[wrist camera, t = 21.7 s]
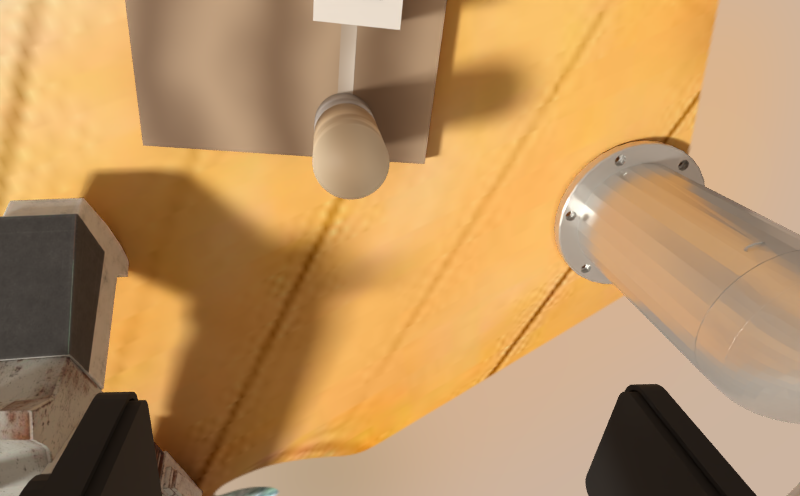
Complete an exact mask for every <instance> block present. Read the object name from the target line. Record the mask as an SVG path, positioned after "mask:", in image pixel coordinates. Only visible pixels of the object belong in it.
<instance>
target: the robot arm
mask: <svg viewBox="0 0 800 496" xmlns="http://www.w3.org/2000/svg"><path fill="white" fill-rule="evenodd" d="M554 229H555V241H556V244H557V247H558V250H559V252H560V254H561V256H562V257H563V259H564V261H565V262H566V263H567V264H568V265H569V266H570V267H571V269H572V270H573V271H575V272H576V273H577V274H578V275H580V276H581V277H583V278H585V279H588V280H590V281H593V282H597V283H602V284H614V285H615V286H616V287H617V288H618V289H619V290H620V291H621V292H622V293H623V294H624V295H625V296H626V297H627V299H628V300H629V301H630V302H631V303H632V304H633V305H635V307H637V309H639V311H640V312H642V313H643V315H645V316H646V318H647V319H648V320H649V321H650V322H651V323H652V324H653V325H654V326H655V327H656V328H657V329H658V330H659V331H660V332H662V334H663V335H664V336H665V337H666V338H667V339H668V340H669V341H670V342H671V343H672V344H673V345H674V346H675V347H676V348H677V349H678V350H679V351H680V352H681V353H682V354H683V355H684V356H685V357H686V358H687V359H689V361H690V362H691V363H692V364H693V365H694V366H695V367H696V368H697V369H698V370H699V371H700V372H701V373H702V374H703V375H704V376H705V377H706V378H707V379H709V381H710V382H711V383H712V384H714V385H715V386H716V387H717V388H718V389H719V390H720V391H721V392H722V393H723V394H724V395H726V396H727V397H728V398H729V399H731V400H732V401H734V402H735V403H737V404H738V405H740V406H742V407H744V408H745V409H747V410H750V411H752V412H753V413H756V414H758V415H761V416H765V417H768V418H771V419H775V420H779V421H785V422H790V423H797V424H800V235H799V234H797V233H795V232H793V231H791V230H789V229H787V228H785V227H783V226H781V225H779V224H777V223H775V222H773V221H771V220H770V219H768V218H765V217H764V216H762V215H760V214H758V213H756V212H754V211H752V210H750V209H748V208H746V207H744V206H742V205H740V204H738V203H736V202H734V201H732V200H730V199H728V198H726V197H724V196H722V195H720V194H718V193H716V192H715V191H713V190H711V189H709V188H707V187H705V185H704V179H703V177H702V174H701V171H700V169H699V167H698V166H697V165H696V163H695V162H694V160H693V159H692V158H691V157H690V156H688V155H687V154H686V153H685V152H684V151H682V150H680V149H678V148H676V147H673V146H671V145H668V144H665V143H662V142H659V141H646V140H645V141H636V142H630V143H626V144H623V145H620V146H617V147H615V148H613V149H611V150H609V151H607V152H605V153H603V154H601V155H600V156H598V157H597V158H595V159H594V160H593V161H591V162H590V163H589V164H587V165H586V166H585V167H584V168H583V169H582V170H581V171H580V172H579V173H578V174H577V175H576V177H575V178H574V179H573V181H572V182H571V184H570V185H569V186H568V188H567V189H566V191H565V193H564V195H563V197H562V199H561V201H560V204H559V207H558V210H557V213H556V219H555V227H554ZM586 489H587V493H588V495H589V496H756V494H755V493H754V492H753V491H752V490H751V489H750V487H749V486H748V485H747V484H746V483H745V482H744V481H743V479H742V478H741V477H740V476H739V475H738V474H737V472H736V471H735V470H734V469H733V468H732V467H731V465H730V464H729V463H728V462H727V461H726V460H725V458H723V456H722V455H721V454H720V453H719V451H718V450H717V449H716V448H715V447H714V446H713V445H712V443H711V442H710V441H709V440H708V439H707V438H706V436H705V435H704V434H703V433H702V432H701V431H700V429H699V428H698V427H697V426H696V425H695V424H694V423H693V421H692V420H691V419H690V418H689V417H688V416H687V414H686V413H685V412H684V411H683V410H682V409H681V407H680V406H679V405H678V404H677V403H676V402H675V400H674V399H673V398H672V397H671V396H670V395H669V394H668V392H667V391H666V390H665V389H664V388H663V387H662V386H660V385H657V384H643V385H630V386H628V387H627V388H626V390H625V392H622V393H621V394H620V395H619V397H618V400H617V402H616V405H615V407H614V410H613V412H612V415H611V417H610V419H609V422H608V425H607V427H606V429H605V432H604V434H603V437H602V439H601V442H600V444H599V446H598V449H597V451H596V454H595V456H594V459H593V461H592V464H591V466H590V469H589V471H588V473H587V476H586ZM19 496H162V491H161V485H160V478H159V472H158V466H157V459H156V453H155V447H154V440H153V434H152V427H151V421H150V415H149V408H148V403H147V401H146V400H138V399H137V395H136V394H135V392H102V393H98V394H96V396H95V397H94V398H93V400H92V402H91V403H90V405H89V407H88V409H87V411H86V412H85V414H84V416H83V418H82V419H81V421H80V423H79V425H78V427H77V428H76V430H75V432H74V434H73V435H72V437H71V439H70V441H69V443H68V444H67V446H66V448H65V450H64V451H63V453H62V455H61V457H60V459H59V460H58V462H57V464H56V466H55V467H54V469H53V471H52V473H49V474H39V475H36V476H35V477H33V478H32V479H31V480H30V481H29V482H28V483H27V485H26V486H25V487H24V489H23V490H22V492H21V493H20V495H19ZM787 496H800V483H799V484H798V485H797V486H796V487H795V488H794V489H793V490H792V491H791V492H790V493H789V494H788V495H787Z"/></svg>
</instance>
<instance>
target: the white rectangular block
mask: <svg viewBox="0 0 800 496" xmlns="http://www.w3.org/2000/svg"><path fill="white" fill-rule="evenodd" d="M402 5H403V0H314V4H313V21H321V22H330V23H339V24H349V25H358V26H367V27H376V28H386V29H395V30H400V26H401V15H402Z"/></svg>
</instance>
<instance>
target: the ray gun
mask: <svg viewBox="0 0 800 496" xmlns="http://www.w3.org/2000/svg"><path fill="white" fill-rule="evenodd" d="M128 267H129V261H128V258H127V256H126V254H125V252H124V250H123V248H122V246H121V245H120V243H119V242H118V240H117V239H116V237H115V236H114V234H113V233H112V231H111V230H110V228H109V227H108V226H107V224H106V223H105V222H104V221H103V220H102V219H101V217H100V216H99V215H98V214H97V213H96V212H95V211H94V209H93V208H92V207H91V206H90V205H89V204H88V202H87V201H86V200H85V199H84V198H71V199H45V200H20V201H10V202H9V204H8V206H7V209H6V211H5V213H4V215H3V217H0V496H19V495H20V493H21V492H22V490H23V489H24V487H25V486H26V485H27V483H28V482H29V481H30V480H31V479H32V478H33V477H35V476H36V475H39V474H49V473H52V471H53V469H54V467H55V466H56V464H57V462H58V460H59V459H60V457H61V455H62V453H63V451H64V450H65V448H66V446H67V444H68V443H69V441H70V439H71V437H72V435H73V434H74V432H75V430H76V428H77V427H78V425H79V423H80V421H81V419H82V418H83V416H84V414H85V412H86V411H87V409H88V407H89V405H90V403H91V402H92V400H93V398H94V397H95V396H96V394H98V393H102V391H101V390H102V389H103V388H104V380H105V371H106V363H107V355H108V347H109V338H110V330H111V322H112V314H113V305H114V297H115V289H116V280H117V277H128ZM154 447H155V453H156V459H157V466H158V472H159V478H160V485H161V491H162V496H202V493H203V491H202V490H201V489H200V488H198V487H197V485H196V484H195V483H194V481H193V480H192V479H191V478H190V477H189V476H188V475H187V473H186V472H185V471H184V470H183V469H182V468H181V467H180V466H179V464H178V463H177V462H176V461H175V460H174V459H173V458H172V456H171V455H170V454H169V453H168V452H167V451H162V450H161V449H160V448H159V447H158V446H157V444H156V443H155V442H154Z"/></svg>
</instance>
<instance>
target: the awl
mask: <svg viewBox="0 0 800 496" xmlns="http://www.w3.org/2000/svg"><path fill="white" fill-rule="evenodd" d="M312 162H313V171H314V174H315V177H316V179H317V180H318V182H319V184H320V185H321V186H322V187H323V188H324V189H325V190H326V191H327V192H329V193H330V194H332V195H334V196H336V197H339V198H343V199H359V198H363V197H366V196H368V195H370V194H372V193H373V192H375V191H376V190H377V189H378V188H379V187H380V186H381V185H382V183H383V182H384V180H385V178H386V176H387V174H388V170H389V154H388V151H387V148H386V146H385V143H384V141H383V138H382V136H381V134H380V131H379V129H378V126H377V124H376V122H375V119H374V117H373V114H372V112H371V110H370V108H369V106H368V105H367V104H366V103H365V101H363V100H362V99H361V98H359V97H358V96H356V95H353V94H350V93H337V94H334V95H331V96H329V97H328V98H326V99H325V100H324V101H323V102H322V103H321V104H320V106H319V107H318V109H317V112H316V115H315V123H314V142H313V160H312Z"/></svg>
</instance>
